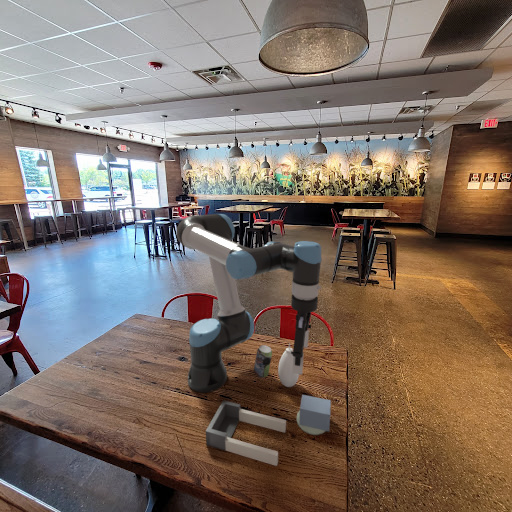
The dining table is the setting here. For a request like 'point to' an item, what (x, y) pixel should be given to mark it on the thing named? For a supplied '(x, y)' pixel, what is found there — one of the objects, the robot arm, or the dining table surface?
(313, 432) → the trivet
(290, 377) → the sauce bottle
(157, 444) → the dining table surface
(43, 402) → the dining table surface
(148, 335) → the dining table surface
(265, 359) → the beverage can
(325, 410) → the painted block
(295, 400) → the dining table surface
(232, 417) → the bin
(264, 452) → the channel
